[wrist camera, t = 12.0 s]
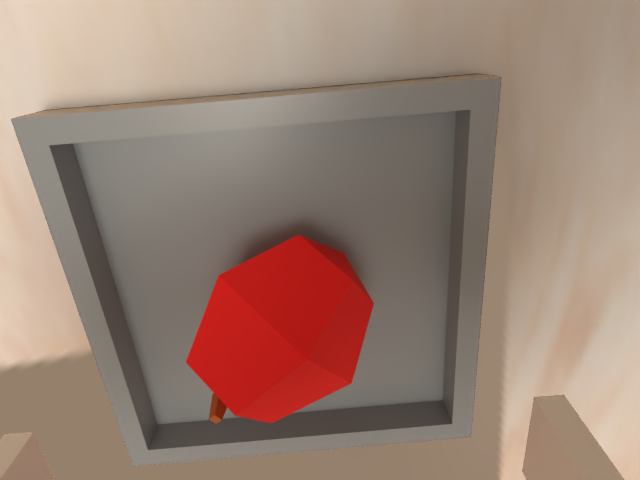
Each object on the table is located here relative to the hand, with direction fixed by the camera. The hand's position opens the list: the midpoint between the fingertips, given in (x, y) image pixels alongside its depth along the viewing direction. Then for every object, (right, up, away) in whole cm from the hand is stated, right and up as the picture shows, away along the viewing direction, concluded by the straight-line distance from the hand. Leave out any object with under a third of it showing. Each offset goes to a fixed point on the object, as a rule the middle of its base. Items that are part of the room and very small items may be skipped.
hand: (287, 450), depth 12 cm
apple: (-1, +4, +8) cm, 9 cm away
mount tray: (-1, +4, +9) cm, 10 cm away
